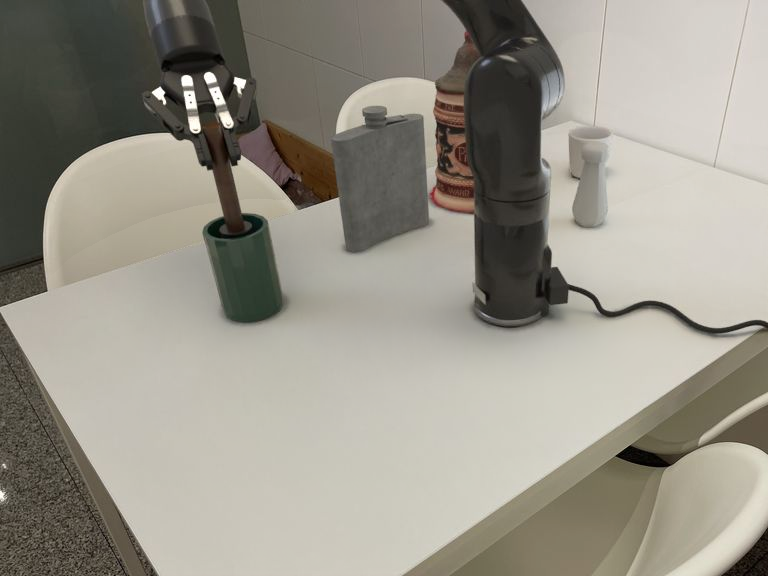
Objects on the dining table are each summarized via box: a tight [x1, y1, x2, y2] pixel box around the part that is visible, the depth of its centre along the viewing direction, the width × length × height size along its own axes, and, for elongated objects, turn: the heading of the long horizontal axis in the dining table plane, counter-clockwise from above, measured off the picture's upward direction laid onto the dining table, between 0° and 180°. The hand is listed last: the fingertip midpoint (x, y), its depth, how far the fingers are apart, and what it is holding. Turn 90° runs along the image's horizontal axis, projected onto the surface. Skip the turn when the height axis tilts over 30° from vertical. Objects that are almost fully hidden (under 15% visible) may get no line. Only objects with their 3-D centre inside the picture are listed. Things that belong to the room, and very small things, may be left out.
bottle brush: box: [201, 121, 254, 239], centre depth 86 cm, size 4×4×18 cm
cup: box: [567, 125, 614, 179], centre depth 128 cm, size 11×8×8 cm
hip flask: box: [330, 105, 430, 253], centre depth 107 cm, size 16×4×20 cm, turn 132°
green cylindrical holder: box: [201, 212, 285, 323], centre depth 92 cm, size 8×8×12 cm
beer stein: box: [428, 29, 480, 214], centre depth 117 cm, size 17×28×18 cm
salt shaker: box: [571, 142, 610, 228], centre depth 111 cm, size 6×6×13 cm
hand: (222, 164), depth 82 cm, fingers closed on bottle brush, 2 cm apart
